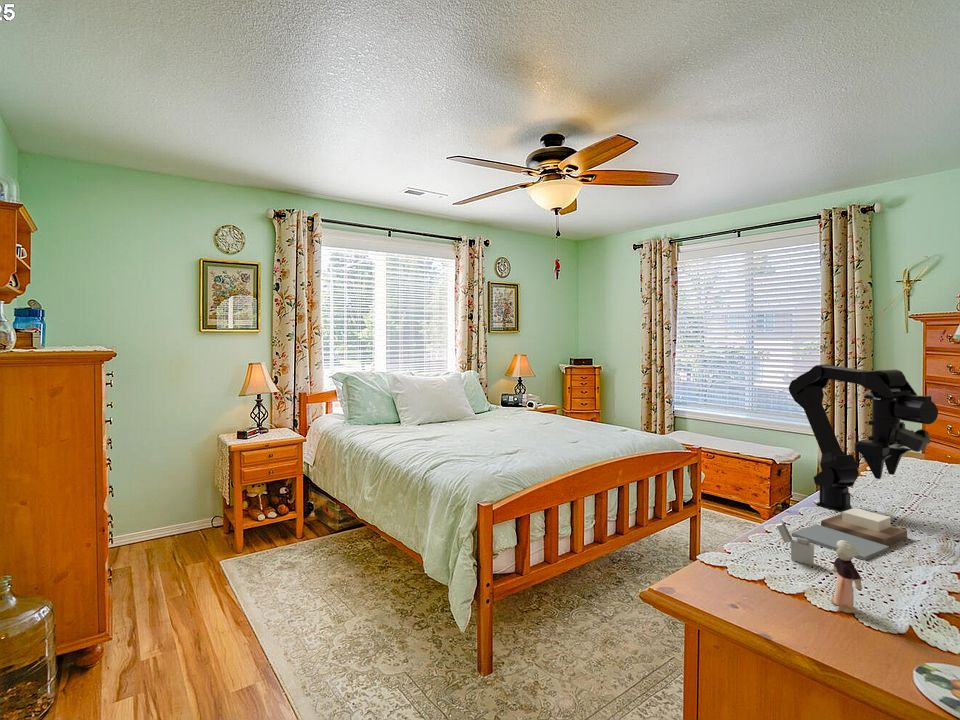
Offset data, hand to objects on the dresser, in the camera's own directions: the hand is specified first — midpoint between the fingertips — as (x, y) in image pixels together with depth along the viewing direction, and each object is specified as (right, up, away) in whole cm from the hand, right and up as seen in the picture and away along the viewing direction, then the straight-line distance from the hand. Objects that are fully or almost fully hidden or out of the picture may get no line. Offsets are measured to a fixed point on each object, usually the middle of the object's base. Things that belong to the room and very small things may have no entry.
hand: (884, 476), depth 129 cm
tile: (-8, -11, -4) cm, 14 cm away
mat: (-19, -14, -10) cm, 25 cm away
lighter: (-35, -15, -18) cm, 42 cm away
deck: (-9, -13, -4) cm, 17 cm away
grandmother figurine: (-38, -16, -38) cm, 56 cm away
